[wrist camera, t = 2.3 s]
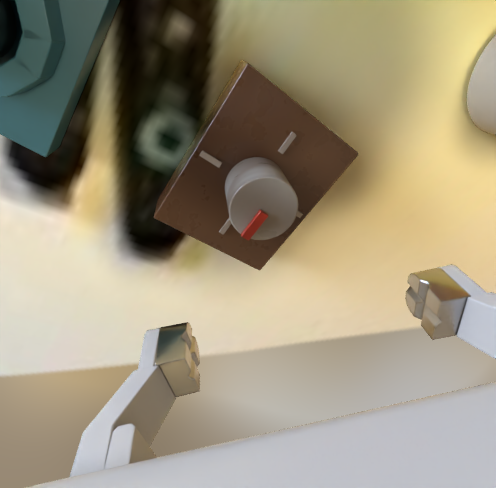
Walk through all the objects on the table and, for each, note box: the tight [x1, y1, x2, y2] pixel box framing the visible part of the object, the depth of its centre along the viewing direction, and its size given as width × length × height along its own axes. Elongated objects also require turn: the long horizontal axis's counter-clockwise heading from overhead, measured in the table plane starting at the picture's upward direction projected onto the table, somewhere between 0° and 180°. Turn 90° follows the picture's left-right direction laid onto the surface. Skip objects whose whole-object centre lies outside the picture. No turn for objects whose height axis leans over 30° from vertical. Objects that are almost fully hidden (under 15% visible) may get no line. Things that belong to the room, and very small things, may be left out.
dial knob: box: [225, 157, 298, 240], centre depth 19 cm, size 4×4×4 cm
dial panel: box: [154, 60, 358, 270], centre depth 22 cm, size 11×9×3 cm
